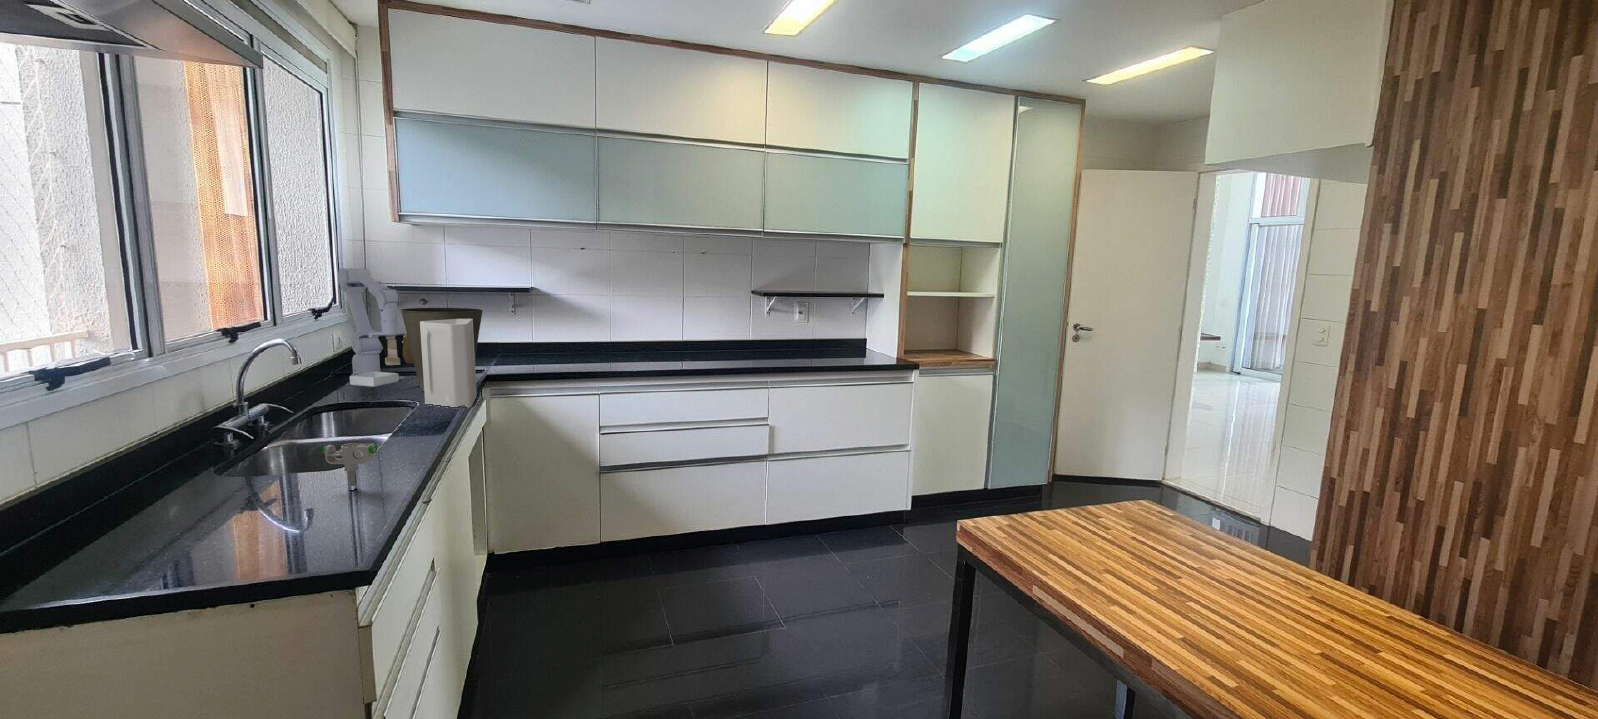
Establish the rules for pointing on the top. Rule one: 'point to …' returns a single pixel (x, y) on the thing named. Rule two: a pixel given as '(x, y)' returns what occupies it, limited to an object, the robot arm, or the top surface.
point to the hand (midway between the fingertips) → (392, 354)
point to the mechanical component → (350, 457)
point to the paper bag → (448, 362)
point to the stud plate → (401, 377)
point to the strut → (392, 353)
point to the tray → (374, 379)
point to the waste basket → (417, 315)
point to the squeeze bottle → (407, 351)
